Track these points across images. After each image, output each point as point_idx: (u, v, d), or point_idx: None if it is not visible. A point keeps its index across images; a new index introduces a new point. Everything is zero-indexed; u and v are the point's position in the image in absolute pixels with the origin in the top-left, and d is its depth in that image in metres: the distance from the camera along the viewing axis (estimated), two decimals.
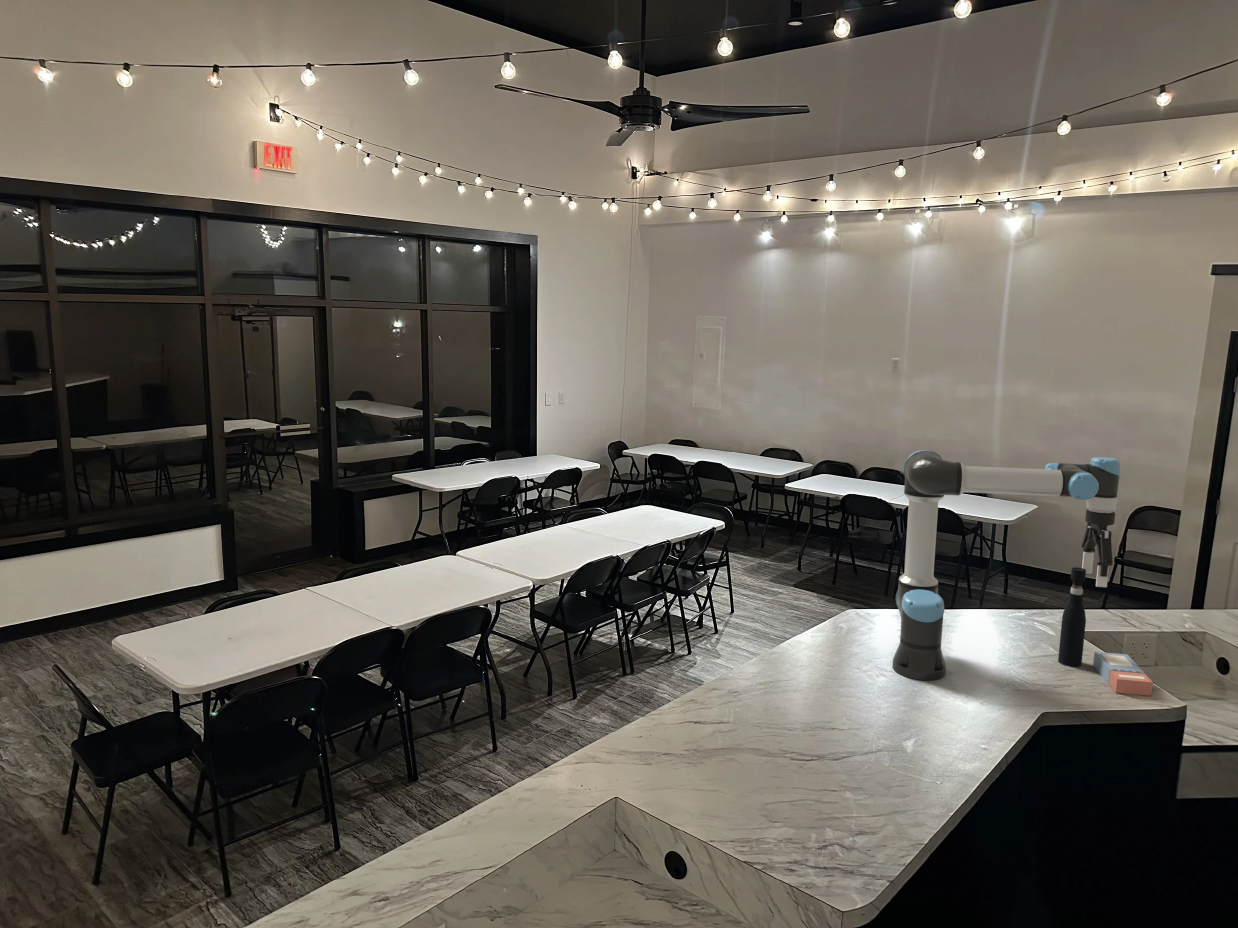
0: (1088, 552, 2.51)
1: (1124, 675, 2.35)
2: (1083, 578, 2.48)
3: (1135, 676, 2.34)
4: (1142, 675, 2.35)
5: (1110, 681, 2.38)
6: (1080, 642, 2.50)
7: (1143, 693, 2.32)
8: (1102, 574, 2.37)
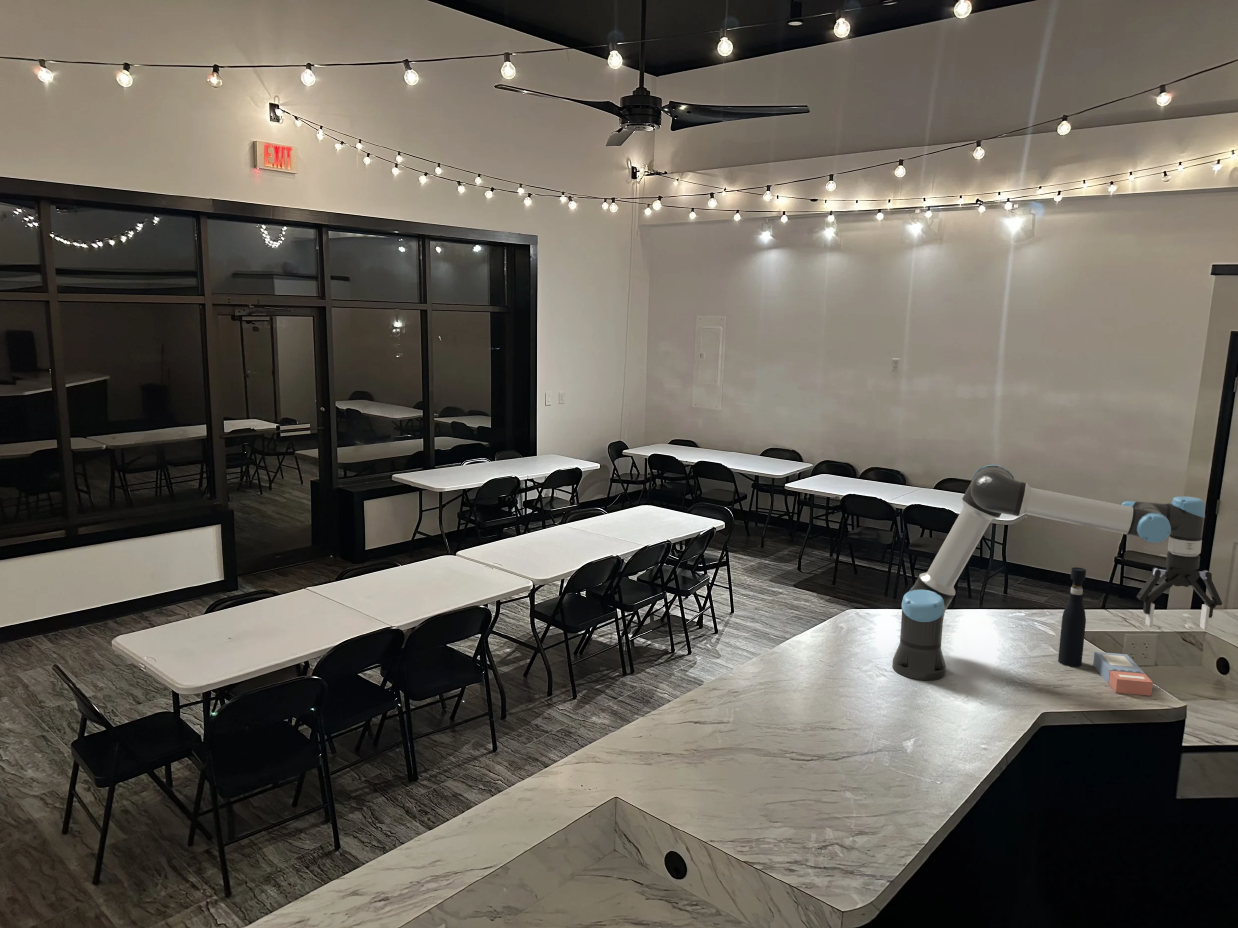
0: (1205, 605, 2.28)
1: (1124, 675, 2.35)
2: (1083, 578, 2.48)
3: (1135, 676, 2.34)
4: (1142, 675, 2.35)
5: (1110, 681, 2.38)
6: (1080, 642, 2.50)
7: (1143, 693, 2.32)
8: (1143, 610, 2.32)
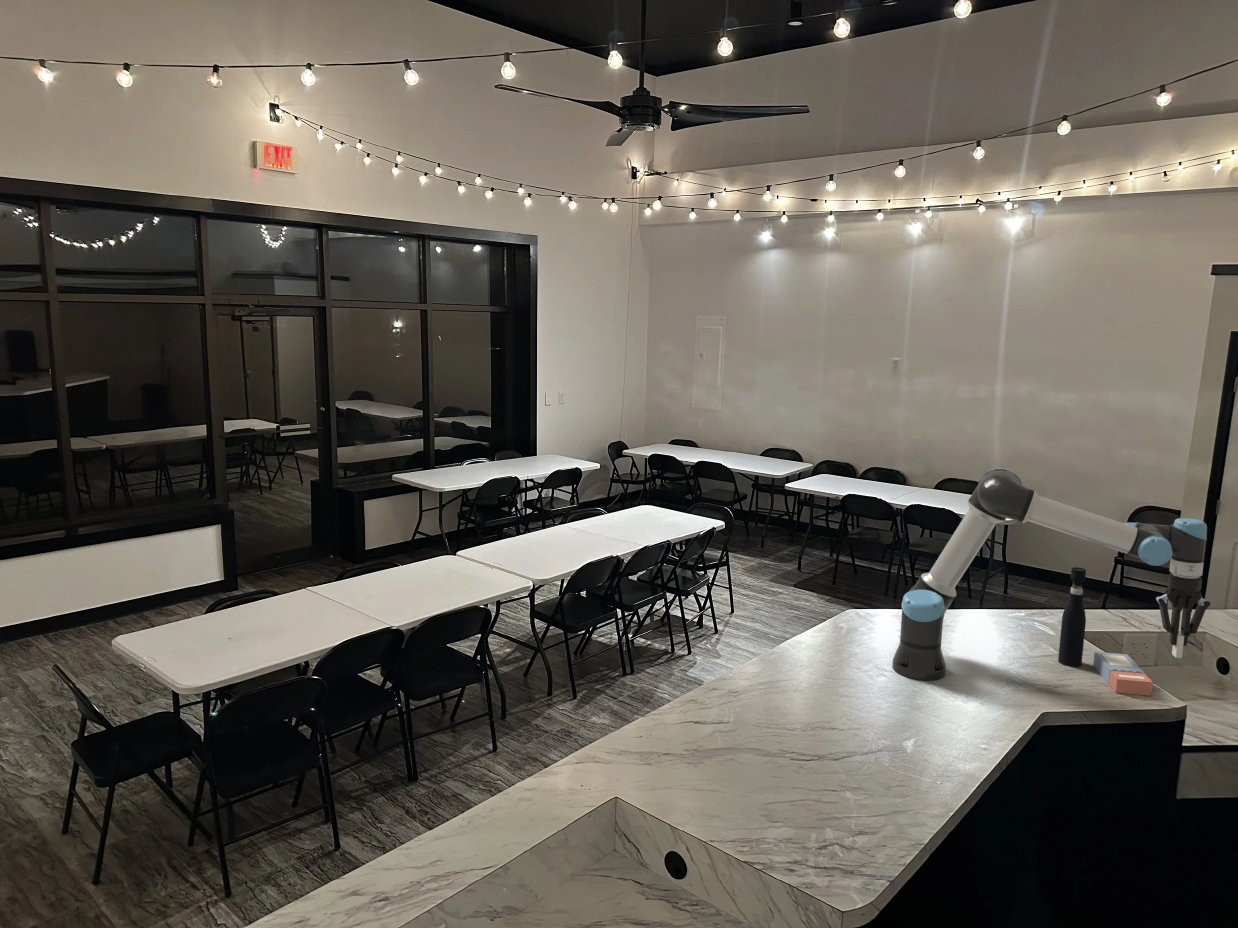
0: (1180, 633, 2.30)
1: (1124, 675, 2.35)
2: (1083, 578, 2.48)
3: (1135, 676, 2.34)
4: (1142, 675, 2.35)
5: (1110, 681, 2.38)
6: (1080, 642, 2.50)
7: (1143, 693, 2.32)
8: (1170, 641, 2.31)
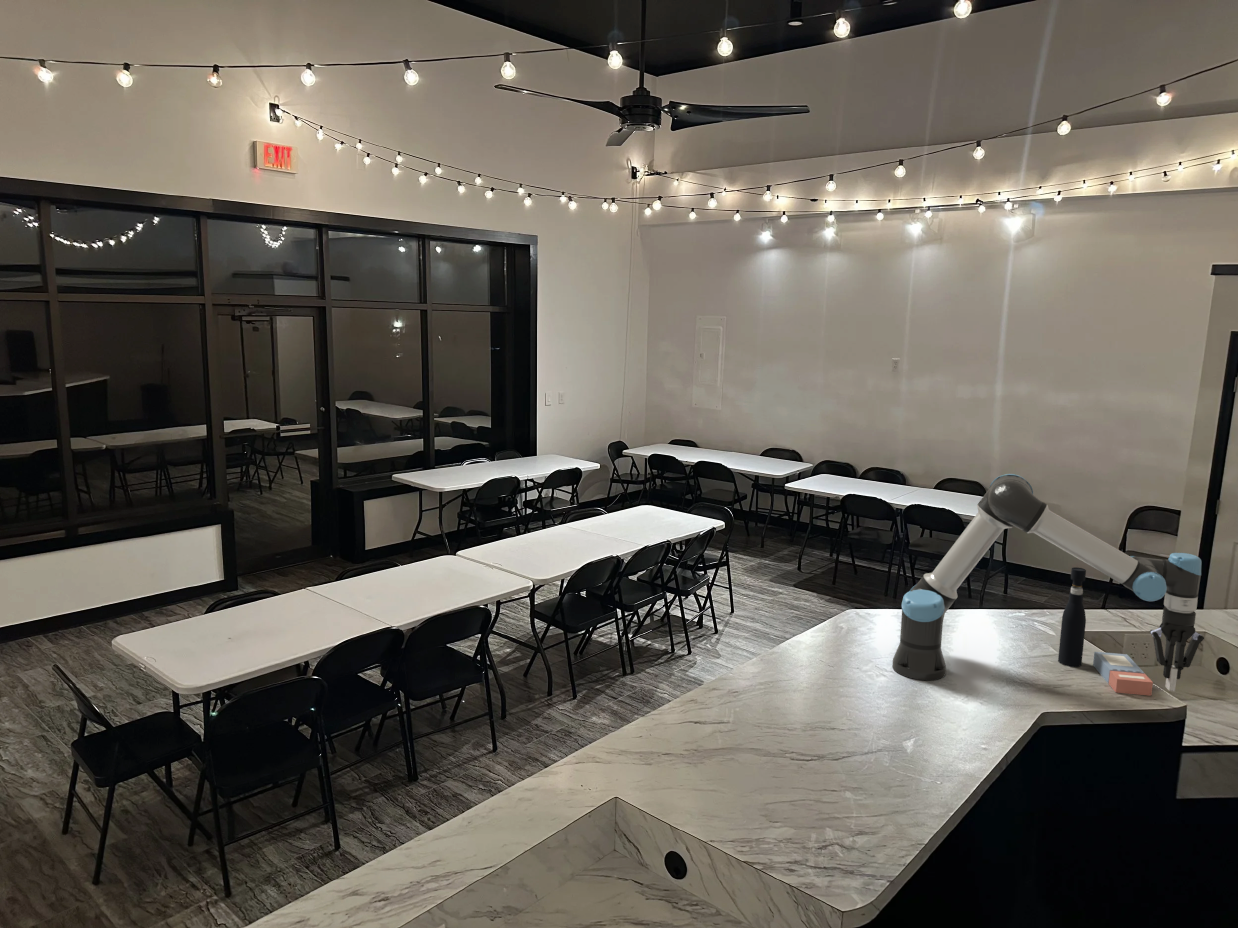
0: (1174, 667, 2.31)
1: (1124, 675, 2.35)
2: (1083, 578, 2.48)
3: (1135, 676, 2.34)
4: (1142, 675, 2.35)
5: (1110, 681, 2.38)
6: (1080, 642, 2.50)
7: (1143, 693, 2.32)
8: (1163, 674, 2.33)
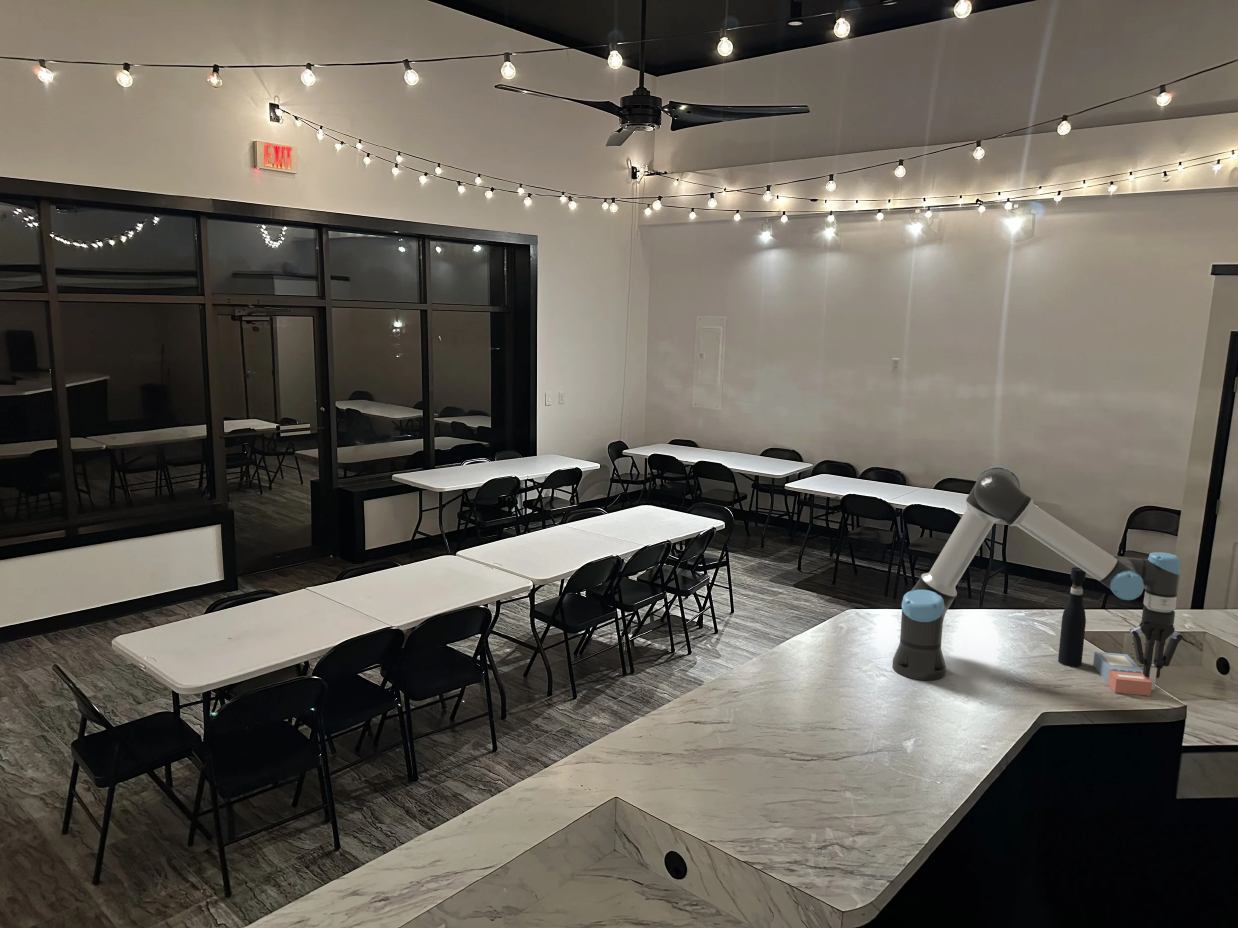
0: (1153, 665, 2.33)
1: (1123, 675, 2.35)
2: (1083, 578, 2.48)
3: (1134, 676, 2.34)
4: (1141, 675, 2.35)
5: (1109, 681, 2.38)
6: (1080, 642, 2.50)
7: (1142, 693, 2.32)
8: (1143, 672, 2.34)
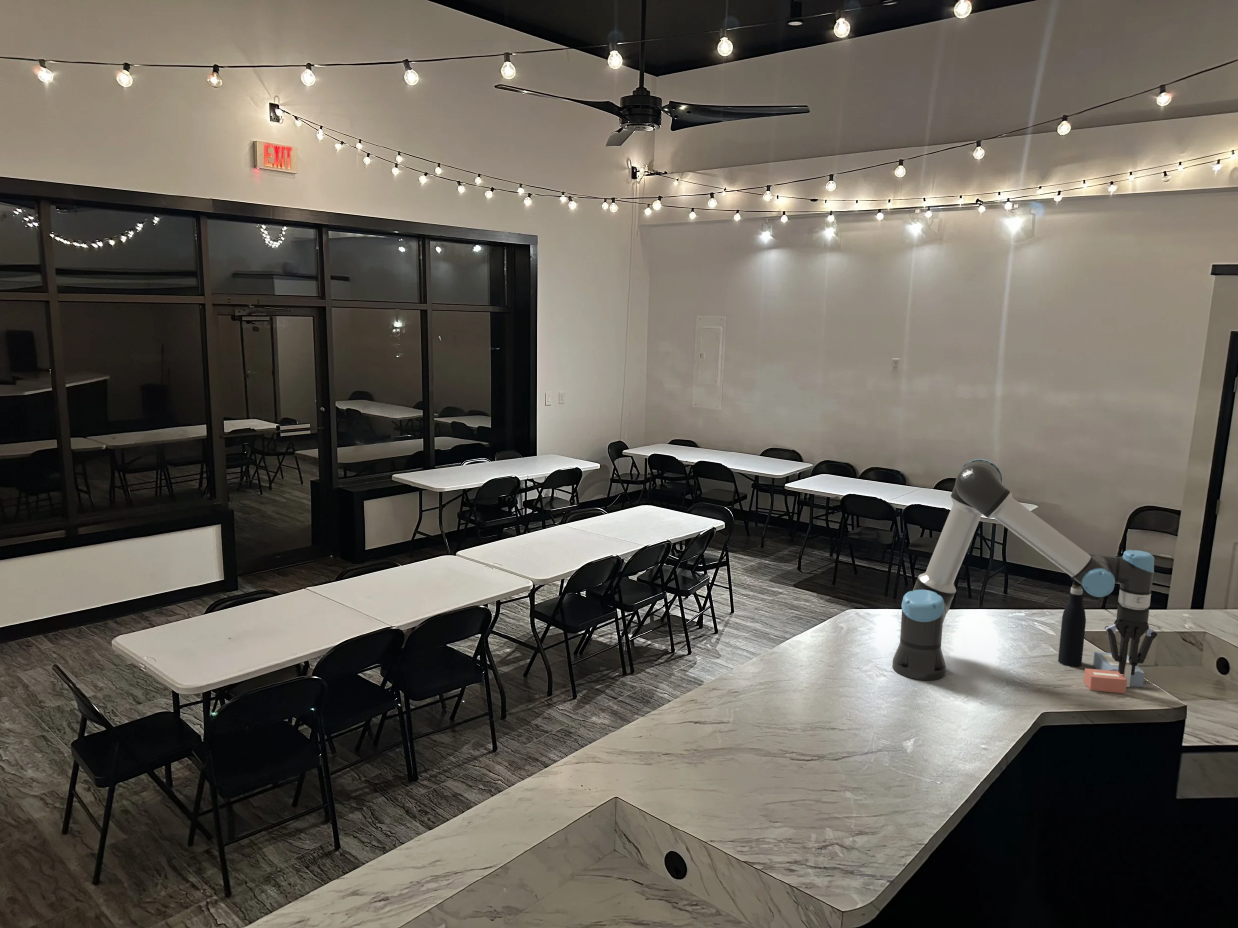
0: (1128, 663, 2.34)
1: (1099, 673, 2.36)
2: None
3: (1109, 674, 2.36)
4: (1116, 673, 2.37)
5: (1085, 679, 2.39)
6: (1080, 642, 2.50)
7: (1117, 691, 2.33)
8: (1118, 670, 2.35)
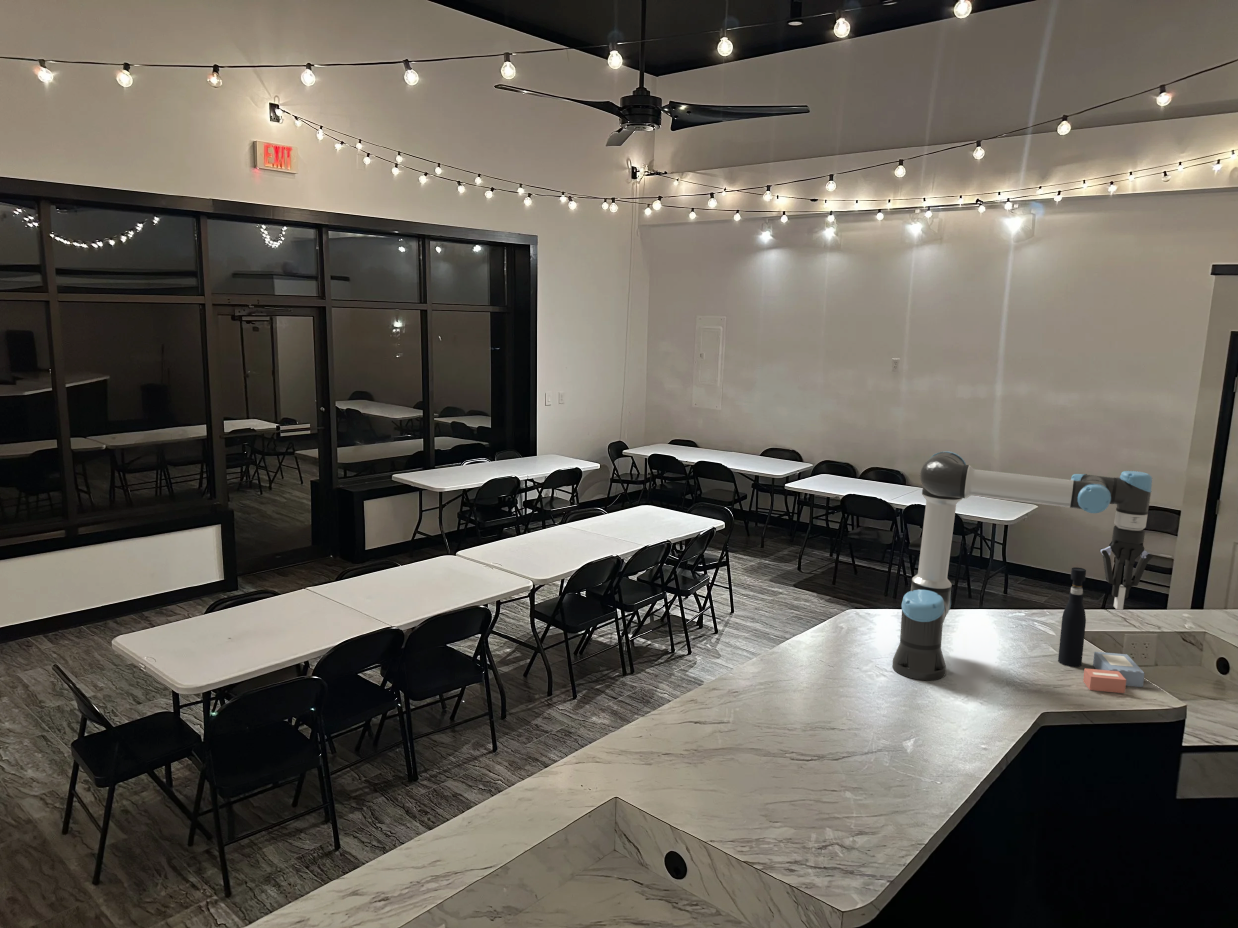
0: (1122, 586, 2.31)
1: (1098, 673, 2.36)
2: (1083, 578, 2.48)
3: (1109, 674, 2.36)
4: (1116, 673, 2.37)
5: (1084, 679, 2.39)
6: (1080, 642, 2.50)
7: (1117, 691, 2.33)
8: (1112, 593, 2.33)
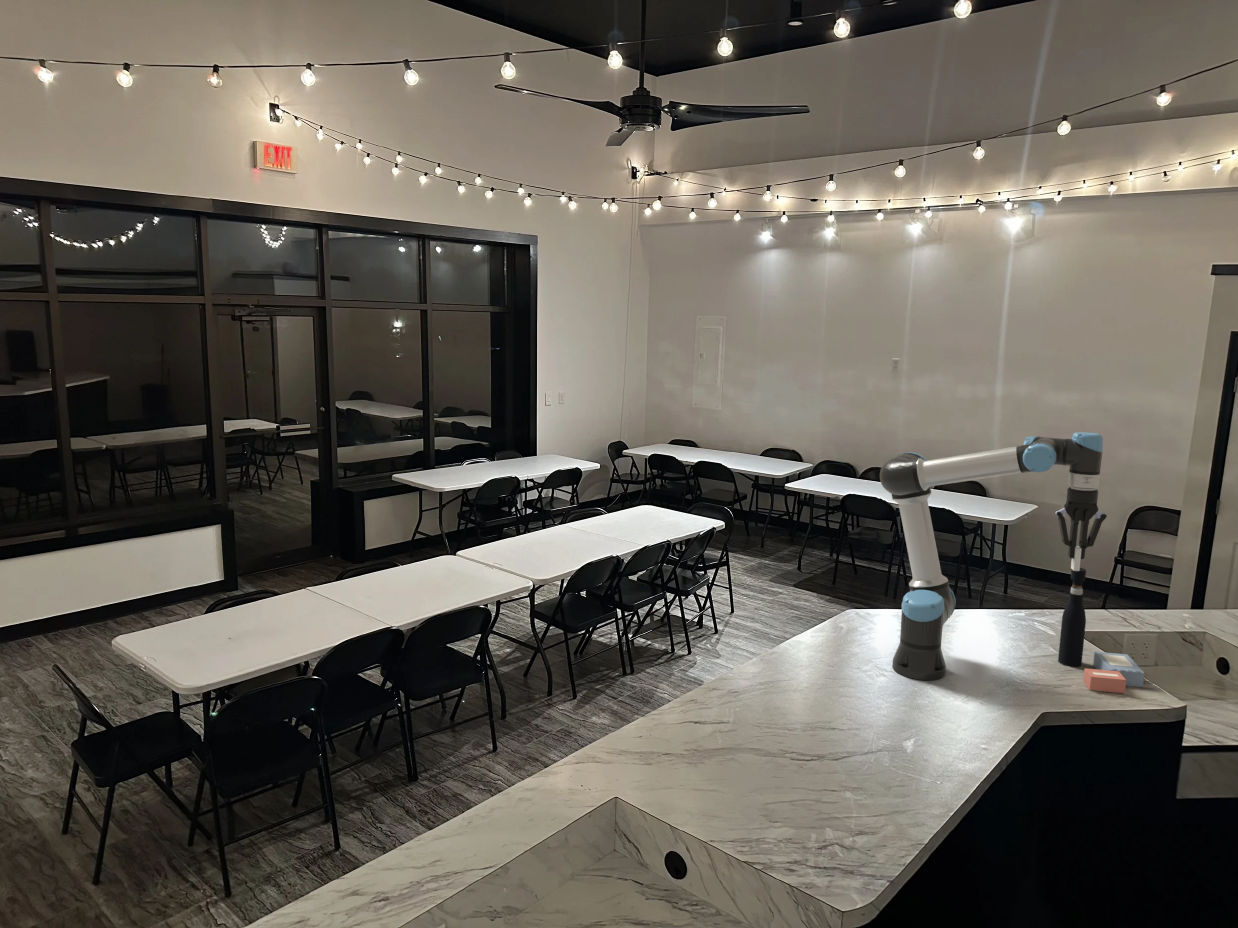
0: (1078, 547, 2.33)
1: (1098, 673, 2.36)
2: (1083, 578, 2.48)
3: (1109, 674, 2.36)
4: (1116, 673, 2.37)
5: (1084, 679, 2.39)
6: (1080, 642, 2.50)
7: (1117, 691, 2.33)
8: None
